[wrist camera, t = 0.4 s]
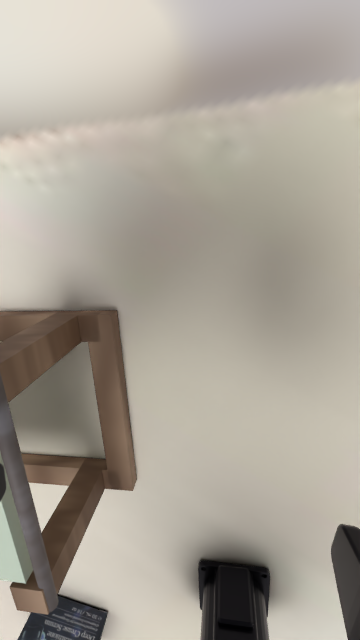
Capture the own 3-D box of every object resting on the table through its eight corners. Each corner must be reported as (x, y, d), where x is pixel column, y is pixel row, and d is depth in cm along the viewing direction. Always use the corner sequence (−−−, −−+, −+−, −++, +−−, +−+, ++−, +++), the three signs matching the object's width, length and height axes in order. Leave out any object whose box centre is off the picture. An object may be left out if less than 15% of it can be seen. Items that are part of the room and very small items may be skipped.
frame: (116, 310, 22) (35, 376, 12) (136, 479, 26) (88, 620, 17) (-51, 312, 24) (-231, 369, 14) (-5, 468, 28) (-118, 589, 19)
